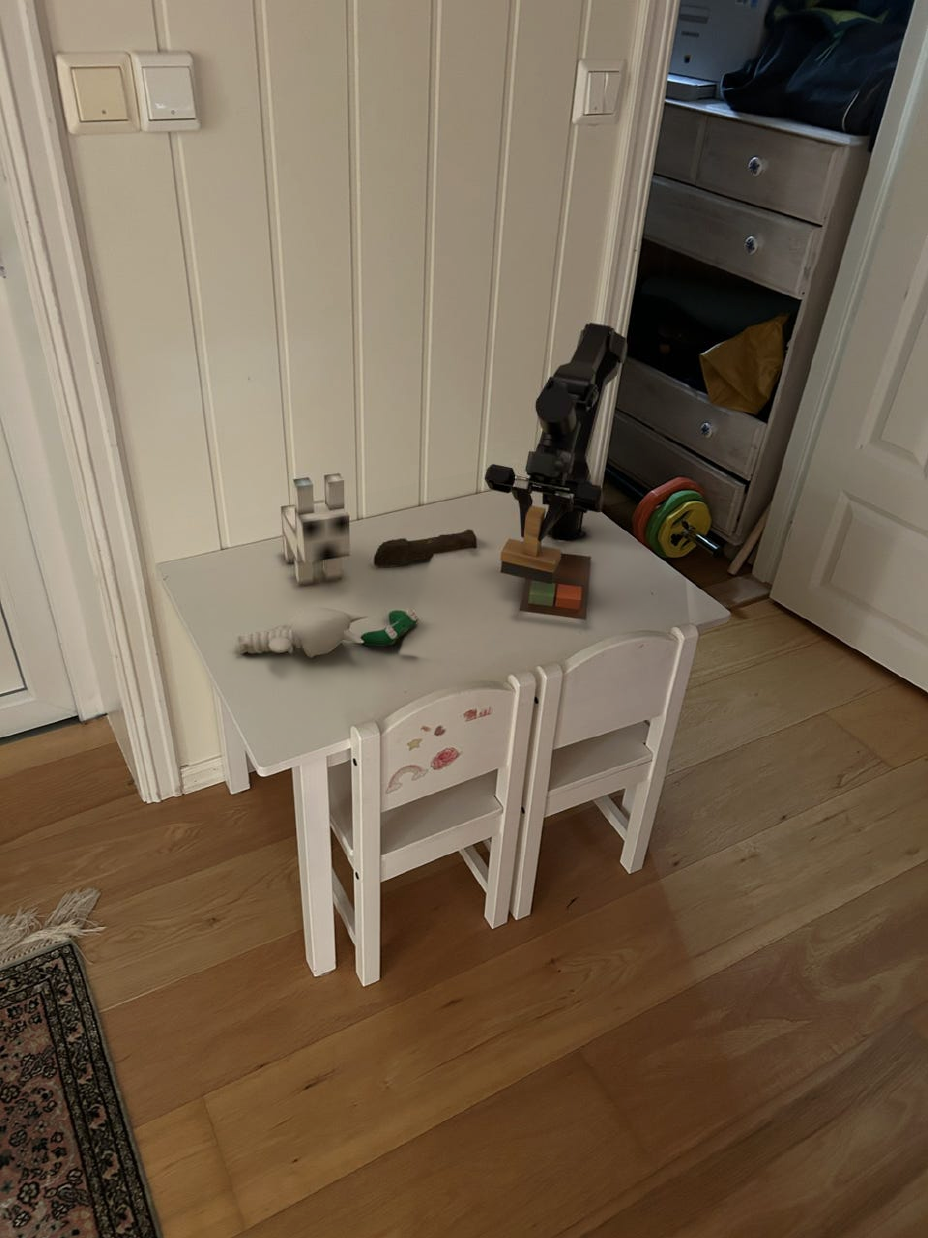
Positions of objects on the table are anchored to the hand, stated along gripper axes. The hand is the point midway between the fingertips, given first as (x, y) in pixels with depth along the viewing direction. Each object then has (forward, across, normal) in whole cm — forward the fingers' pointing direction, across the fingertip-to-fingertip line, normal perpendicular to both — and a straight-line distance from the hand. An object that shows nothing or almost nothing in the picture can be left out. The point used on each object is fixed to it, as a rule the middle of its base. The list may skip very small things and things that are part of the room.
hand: (530, 538), depth 147 cm
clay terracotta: (+7, +7, +10) cm, 14 cm away
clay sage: (+7, +2, +10) cm, 12 cm away
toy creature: (+27, -27, -8) cm, 39 cm away
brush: (+4, 0, +6) cm, 7 cm away
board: (+4, +4, +15) cm, 16 cm away
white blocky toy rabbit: (+12, -37, +7) cm, 39 cm away
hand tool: (+4, -20, +15) cm, 26 cm away
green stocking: (+21, -17, -2) cm, 27 cm away
